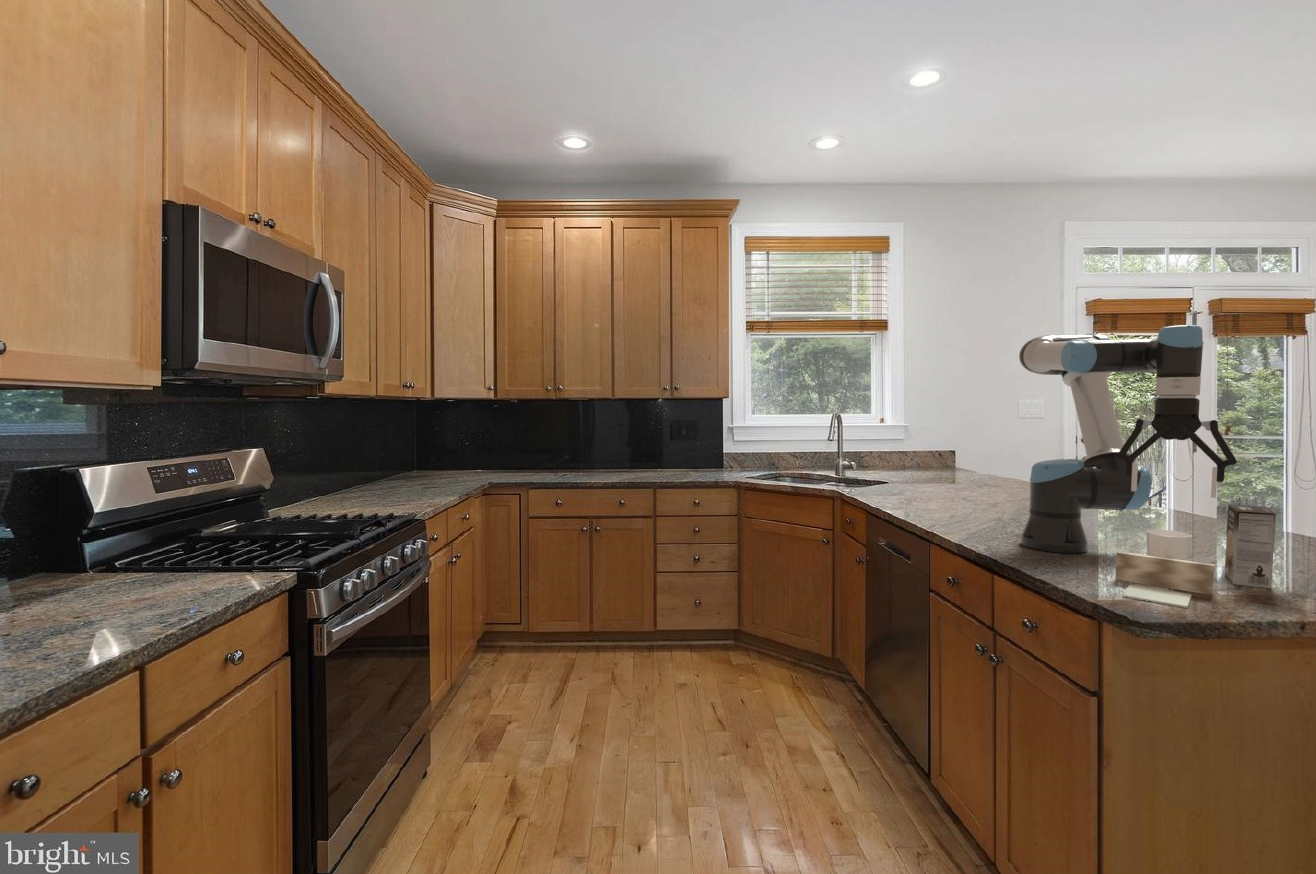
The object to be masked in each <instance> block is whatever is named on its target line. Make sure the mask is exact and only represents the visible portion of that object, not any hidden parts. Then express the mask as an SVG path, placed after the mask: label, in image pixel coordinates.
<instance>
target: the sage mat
mask: <svg viewBox="0 0 1316 874" xmlns="http://www.w3.org/2000/svg"><path fill="white" fill-rule="evenodd" d="M1192 594H1193V593H1186V592H1185V593H1184V592H1181V591H1180V592H1179V591H1175V590H1169V589H1161V588H1156V587H1148V586H1144V585H1143V586H1142V585H1138V584H1132V583H1131V584H1129V585H1128V586H1127V587H1126V589H1125V591H1124V592H1123V594H1122V596H1123V597H1122V598H1126V597H1127V598H1126V599H1133V600H1139V601H1143V600H1145V601H1144V602H1149V601H1151V602H1150V603H1155V604H1162V605H1167V606H1171V607H1172V606H1173V607H1176V608H1177V607H1178V608H1184V609H1188V608H1189V605H1190V601H1191V598H1192V596H1193V595H1192Z"/></svg>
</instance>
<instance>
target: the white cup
mask: <svg viewBox="0 0 1316 874" xmlns="http://www.w3.org/2000/svg"><path fill="white" fill-rule="evenodd" d="M1145 533H1146V537H1145V538H1146V541H1145V542H1146V543H1145V544H1146V548H1145V550H1146V555H1148V556H1155V557H1162V558H1170V559H1177V560H1185V561H1191V559H1190V558H1191V552H1192V551H1191V550H1192V549H1191V548H1192V540H1193V535H1192V534H1191V533H1188V532H1183V531H1178V530H1177V531H1176V530H1170V529H1148V530H1146V532H1145Z"/></svg>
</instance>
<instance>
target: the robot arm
mask: <svg viewBox="0 0 1316 874" xmlns="http://www.w3.org/2000/svg"><path fill="white" fill-rule="evenodd" d="M1203 339H1204V338H1203V328H1202V327H1201V325H1200V326H1199V325H1195V324H1193V325H1190V324H1188V325H1187V324H1186V325H1170V326H1163V327H1160V329H1159V331H1158V334H1157V338H1153V339H1116V340H1115V339H1114V340H1113V339H1110V338H1109V337H1108V336H1107V335H1103V334H1094V333H1086V334H1064V335H1063V334H1055V335H1054V334H1053V335H1052V334H1049V335H1042V336H1041V335H1040V336H1038V337H1034V338H1032V339H1030V340H1028V341H1026V342H1025V343H1024V345H1023V346H1022V347H1020V348H1021V349H1020V351H1019V356H1018V357H1019V362H1020V364H1021V366H1022V367H1023V368H1024V369H1025V370H1026V371H1029V372H1030V373H1033V374H1039V375H1043V376H1044V375H1046V376H1047V375H1048V376H1049V375H1050V376H1051V375H1052V376H1053V375H1054V376H1057V375H1059V376H1061V377H1062V382H1063V383H1064V385H1066V386H1067V387H1070V389H1071V393H1072V398H1073V403H1074V406H1075V410H1076V414H1077V415H1076V416H1077V419H1078V422H1079V423H1078V424H1079V427H1080V433H1081V436H1082V441H1083V445H1084V449H1085V453H1086V457H1085V459H1084V460H1082V459H1077V458H1066V459H1064V458H1061V459H1060V458H1059V459H1057V458H1056V459H1050V460H1043V461H1042V460H1041V461H1038V462H1036V463H1034V464H1033V465H1032V466H1031V472H1030V478H1029V482H1030V483H1029V484H1030V488H1029V490H1030V491H1029V492H1030V494H1029V513H1028V514H1029V516H1028V518H1027V521H1026V524H1025V526H1024V528H1023V530H1022V533H1021V538H1020V544H1021V545H1022V546H1024V547H1026V548H1029V549H1033V550H1038V551H1041V552H1042V551H1043V552H1051V553H1060V554H1081V553H1086V552H1087V551H1088V550H1089V549H1088V548H1089V543H1088V539H1087V536H1086V532H1085V530H1084V526H1083V523H1082V519H1081V518H1082V510H1104V511H1105V510H1107V511H1119V512H1122V511H1136V510H1139V509H1142V507H1144V506H1145V505H1146V504H1147V502H1148V500H1149V497H1150V494H1151V491H1152V486H1153V485H1152V484H1153V480H1152V474H1151V471H1150V469H1149V468H1147V466H1144V465H1139V462H1138V461H1136V459H1137V458H1138V457H1139V456H1141V455H1142V454H1143V453H1144V452H1145V451H1146V450H1148V448H1150V447H1151V446H1152V445H1153V444H1154V443H1156V442H1157V441H1158V440H1159V439H1164V440H1168V441H1169V440H1178V441H1185V440H1188V439H1189V440H1190V441H1192V442H1193V444H1195V445H1196V446H1197V447H1198V448H1199V449H1200V450H1201V451H1202V452H1203V453H1204V454H1205V455H1206V456H1207V457H1208V458H1209V459H1210V460H1211V461H1213V463H1214V464H1215V465H1212V467H1211V468H1212V470H1211V472H1212V473H1211V486H1210V487H1211V492H1210V498H1212V499H1216V498H1217V487H1218V486H1217V484H1218V483H1224V481H1225V472H1226V471H1225V470H1226V467H1228V466H1233V465H1237V462H1238V461H1237V459H1236V456H1235V455H1234V454H1233V452H1232V450H1231V449H1230V447H1229V444H1228V443H1227V442H1226V440H1225V439H1224V437H1223V435H1222V434H1221V432H1220V430H1219V423H1218V421H1217V420H1216V419H1212V420H1203V421H1201V420H1200V417H1199V415H1200V399H1199V398H1197V396H1200V395H1201V381H1202V377H1201V374H1202V366H1203V365H1202V363H1203V349H1204V343H1205V342H1204V341H1203ZM1154 372H1155V373H1156V375H1155V377H1156V378H1155V395H1156V397H1157V396H1158V397H1157V398H1156V399H1155V400H1154V416H1153V419H1152V420H1148V419H1143V418H1137V419H1136V423H1135V428H1134V429H1133V431H1132V432H1131V434H1130V435H1129V437H1128V438H1127V440H1126V441H1125V443H1124V442H1123V441H1124V440H1123V437H1122V434H1121V430H1120V429H1121V428H1120V426H1119V422H1118V418H1117V415H1116V412H1115V411H1116V410H1115V408H1114V407H1115V406H1114V404H1113V400H1112V396H1111V392H1110V388H1109V385H1108V380H1107V379H1109V377H1110V376H1111V374H1112V373H1142V374H1144V373H1145V374H1146V373H1147V374H1150V373H1154ZM1149 426H1151V427H1152V428H1153V429H1154V430H1155V433H1154V434H1153V435H1152V436H1150V437H1149V439H1147V440H1146V441H1145V442H1144V443H1142V444H1141V445H1140V446H1139V447H1137V449H1136V450H1134V451H1133V452H1132V453H1130V452H1129V451H1130V449H1131V447H1132V446H1133V444H1134V443H1135V442H1136V440H1137V439H1138V437H1139V436H1140V435H1141V433H1142V432H1143V430H1145V429H1147V428H1148V427H1149ZM1201 427H1203V428H1205V430H1206V431H1210V432H1211V435H1212V437H1213V439H1214V440H1215V442H1216V444H1217V446H1218V447H1219V448H1220V450H1221V452H1222V454H1223V455H1224V457H1225V459H1222V458H1221V457H1220V456H1219V455H1218V454H1217V453H1216V452H1215V451H1214V450H1213V449H1212V448H1211V447H1210V446H1208V444H1207V443H1205V442H1204V440H1203V439H1201V437H1199V435H1197V433H1196V432H1197V431H1198V430H1199V429H1200V428H1201Z"/></svg>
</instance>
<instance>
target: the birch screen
mask: <svg viewBox="0 0 1316 874" xmlns="http://www.w3.org/2000/svg"><path fill="white" fill-rule="evenodd" d="M1115 560H1116V561H1115V579H1117V581H1121V580H1122V581H1123V582H1127V581H1128V583H1129V582H1130V583H1134V584H1139V585H1140V584H1141V585H1148V586H1154V587H1159V588H1160V587H1161V588H1165V589H1172V590H1178V591H1185V592H1191V593H1197V594H1203V595H1209V596H1213V594H1214V593H1213V592H1214V575H1215V564H1214V563H1213V564H1212V563H1205V562H1199V561H1192V560H1189V561H1185V560H1177V559H1170V558H1162V557H1155V556H1148V555H1147V554H1146V555H1145V554H1139V553H1133V552H1132V553H1131V552H1124V551H1117V552H1116V557H1115Z"/></svg>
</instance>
